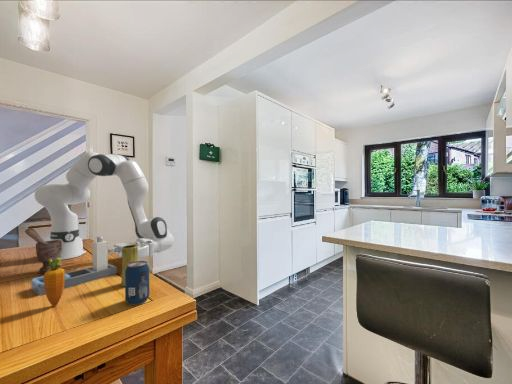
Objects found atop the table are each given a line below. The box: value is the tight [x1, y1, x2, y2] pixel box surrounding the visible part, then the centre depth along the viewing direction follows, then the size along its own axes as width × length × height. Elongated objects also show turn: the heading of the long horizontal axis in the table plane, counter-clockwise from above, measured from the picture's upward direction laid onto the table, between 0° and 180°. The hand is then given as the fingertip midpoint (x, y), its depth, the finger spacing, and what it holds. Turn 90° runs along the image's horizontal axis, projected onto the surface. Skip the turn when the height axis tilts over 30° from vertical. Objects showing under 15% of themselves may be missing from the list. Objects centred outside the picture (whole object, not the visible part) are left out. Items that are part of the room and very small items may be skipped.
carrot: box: [43, 258, 66, 307], centre depth 72 cm, size 5×5×15 cm
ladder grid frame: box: [30, 263, 118, 297], centre depth 92 cm, size 9×25×4 cm, turn 146°
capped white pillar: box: [92, 236, 109, 272], centre depth 98 cm, size 4×4×16 cm
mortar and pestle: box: [24, 227, 62, 275], centre depth 102 cm, size 12×9×20 cm
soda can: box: [124, 260, 150, 306], centre depth 75 cm, size 7×7×12 cm
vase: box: [120, 245, 139, 288], centre depth 89 cm, size 6×6×14 cm
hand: (113, 253), depth 103 cm, fingers open, 8 cm apart
